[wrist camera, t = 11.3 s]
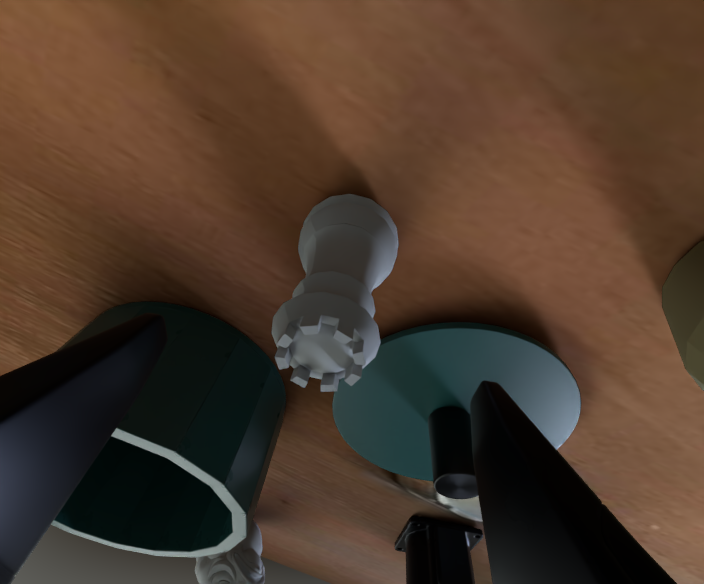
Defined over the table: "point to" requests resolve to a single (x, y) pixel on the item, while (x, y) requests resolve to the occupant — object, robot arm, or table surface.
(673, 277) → the squeeze bottle
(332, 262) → the rook chess piece
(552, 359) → the lid
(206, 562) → the grey sculpted lump
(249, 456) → the pot
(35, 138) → the table surface
